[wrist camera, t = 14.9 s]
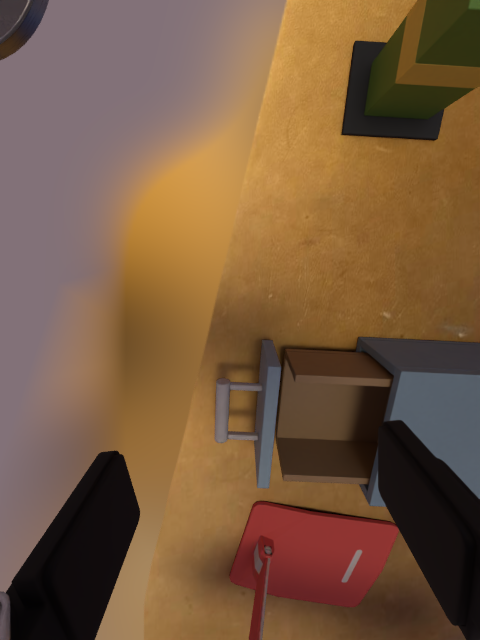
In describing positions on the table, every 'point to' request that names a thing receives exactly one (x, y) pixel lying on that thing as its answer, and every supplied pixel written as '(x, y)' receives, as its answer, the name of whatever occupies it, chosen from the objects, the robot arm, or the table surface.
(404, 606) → the table surface
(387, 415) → the cabinet
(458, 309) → the table surface
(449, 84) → the green banded block
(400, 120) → the mat
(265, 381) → the drawer
